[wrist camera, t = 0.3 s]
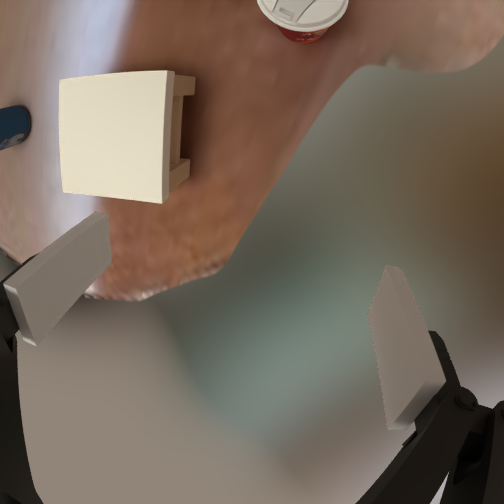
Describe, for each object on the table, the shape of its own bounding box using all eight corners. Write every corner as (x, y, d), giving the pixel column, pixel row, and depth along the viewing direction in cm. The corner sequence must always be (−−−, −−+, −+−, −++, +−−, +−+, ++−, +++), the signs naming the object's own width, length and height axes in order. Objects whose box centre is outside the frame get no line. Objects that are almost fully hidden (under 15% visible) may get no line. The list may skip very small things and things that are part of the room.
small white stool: (105, 77, 36) (59, 79, 28) (198, 74, 35) (167, 70, 26) (104, 170, 43) (63, 192, 34) (191, 178, 42) (161, 203, 33)
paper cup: (316, 62, 33) (324, 44, 20) (259, 34, 32) (236, 5, 20) (346, 14, 29) (367, -24, 17) (288, -14, 28) (280, -62, 16)
